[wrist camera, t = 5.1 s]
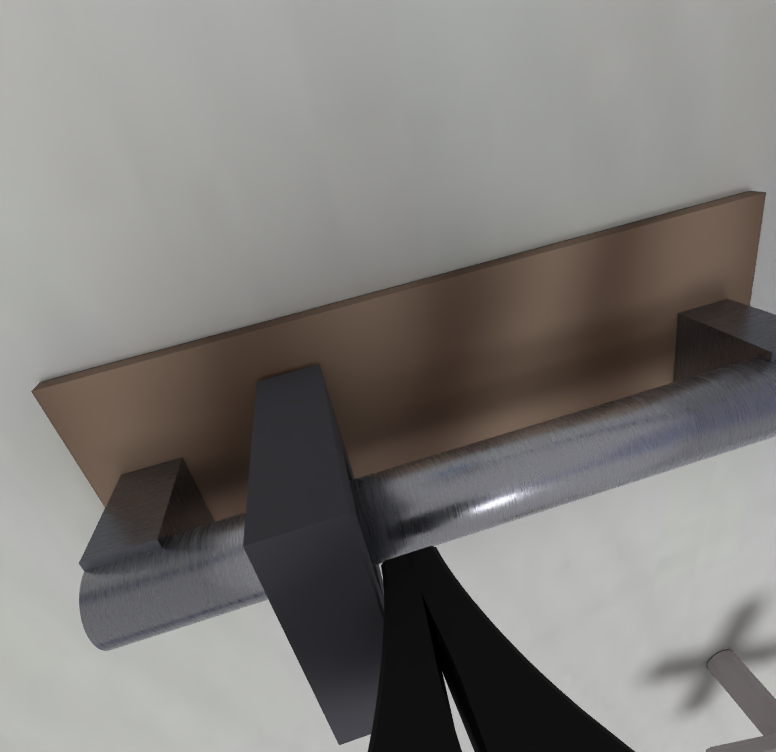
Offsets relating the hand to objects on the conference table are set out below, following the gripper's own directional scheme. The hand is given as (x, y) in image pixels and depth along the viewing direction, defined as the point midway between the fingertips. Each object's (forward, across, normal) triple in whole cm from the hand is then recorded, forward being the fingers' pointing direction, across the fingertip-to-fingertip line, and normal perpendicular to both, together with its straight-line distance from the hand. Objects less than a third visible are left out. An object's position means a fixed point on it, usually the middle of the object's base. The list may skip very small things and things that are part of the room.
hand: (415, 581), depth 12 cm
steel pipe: (+7, -3, 0) cm, 7 cm away
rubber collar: (+7, +2, 0) cm, 7 cm away
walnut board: (+7, -3, 0) cm, 7 cm away
